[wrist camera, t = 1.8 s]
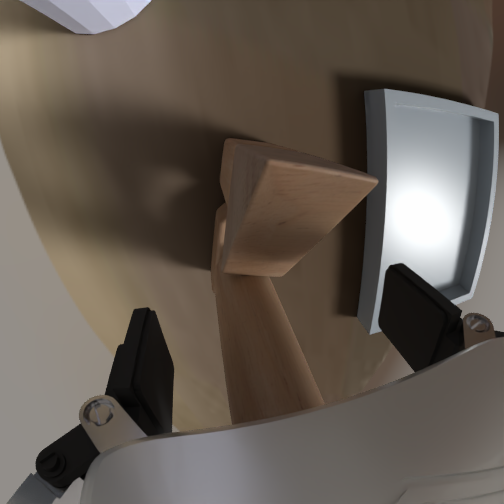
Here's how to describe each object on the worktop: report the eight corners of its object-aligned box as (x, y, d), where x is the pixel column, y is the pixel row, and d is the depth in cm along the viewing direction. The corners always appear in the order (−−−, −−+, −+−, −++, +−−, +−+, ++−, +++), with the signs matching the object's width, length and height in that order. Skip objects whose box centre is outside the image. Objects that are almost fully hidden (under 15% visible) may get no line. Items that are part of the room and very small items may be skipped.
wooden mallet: (273, 143, 21) (479, 219, 4) (253, 273, 25) (326, 481, 9) (223, 137, 20) (319, 184, 4) (209, 271, 24) (235, 495, 8)
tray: (364, 91, 20) (384, 88, 17) (478, 111, 21) (498, 113, 19) (356, 317, 29) (369, 334, 26) (458, 286, 31) (472, 297, 28)
